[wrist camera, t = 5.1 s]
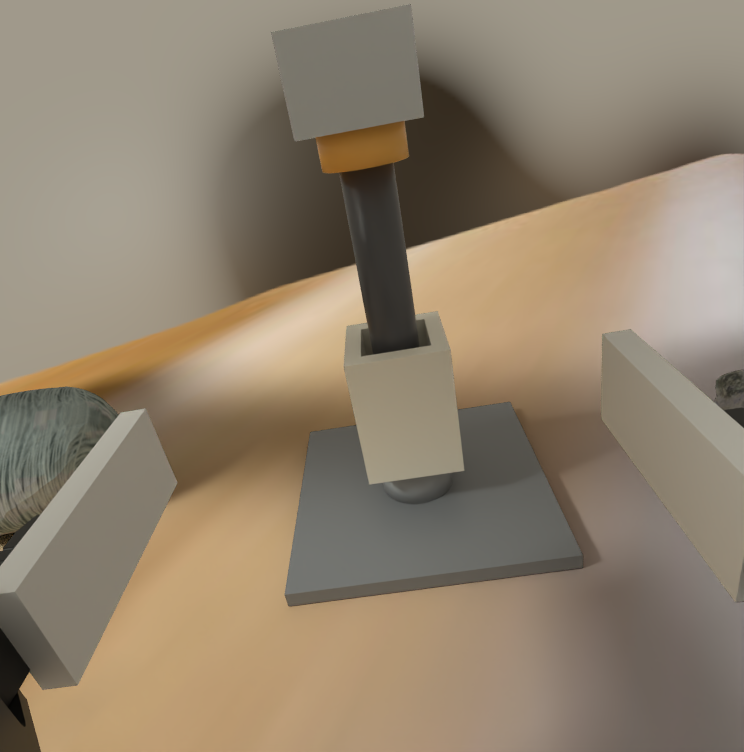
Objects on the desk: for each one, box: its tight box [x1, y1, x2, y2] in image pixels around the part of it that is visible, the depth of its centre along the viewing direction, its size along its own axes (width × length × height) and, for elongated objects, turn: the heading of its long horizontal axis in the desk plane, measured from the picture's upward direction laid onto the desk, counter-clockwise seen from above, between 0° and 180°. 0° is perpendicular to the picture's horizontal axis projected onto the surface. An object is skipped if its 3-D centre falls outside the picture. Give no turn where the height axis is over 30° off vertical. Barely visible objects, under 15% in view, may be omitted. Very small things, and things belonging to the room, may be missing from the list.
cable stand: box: [271, 4, 583, 606], centre depth 27 cm, size 14×14×23 cm
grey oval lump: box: [0, 387, 119, 535], centre depth 35 cm, size 14×10×10 cm
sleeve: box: [344, 311, 464, 485], centre depth 29 cm, size 5×5×7 cm
